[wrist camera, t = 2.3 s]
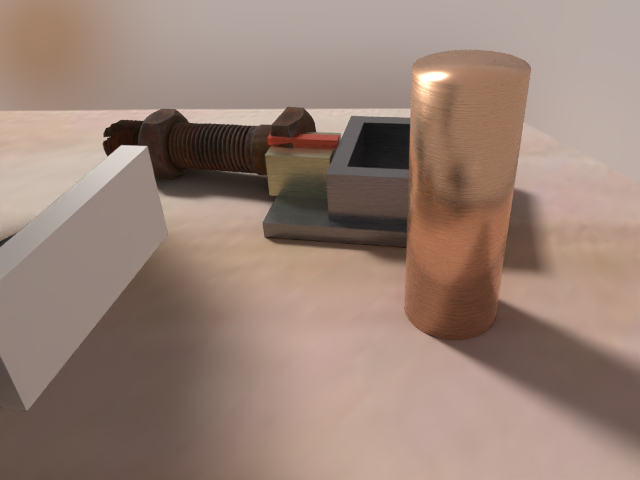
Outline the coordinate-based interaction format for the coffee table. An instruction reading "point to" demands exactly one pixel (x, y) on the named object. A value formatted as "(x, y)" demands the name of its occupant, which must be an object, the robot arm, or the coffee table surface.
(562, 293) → the coffee table surface
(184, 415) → the coffee table surface
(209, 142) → the bolt
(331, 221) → the grey box on baseplate
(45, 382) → the robot arm
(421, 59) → the pipe stub
